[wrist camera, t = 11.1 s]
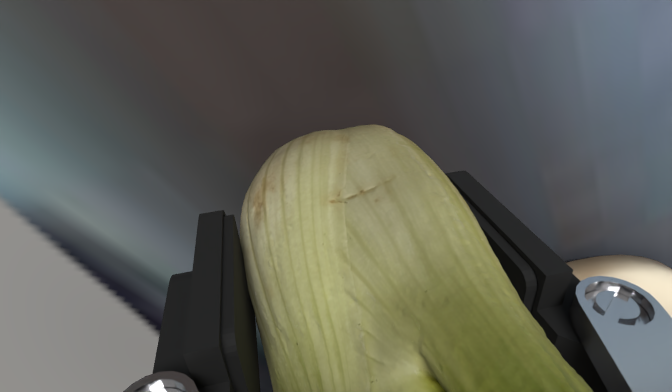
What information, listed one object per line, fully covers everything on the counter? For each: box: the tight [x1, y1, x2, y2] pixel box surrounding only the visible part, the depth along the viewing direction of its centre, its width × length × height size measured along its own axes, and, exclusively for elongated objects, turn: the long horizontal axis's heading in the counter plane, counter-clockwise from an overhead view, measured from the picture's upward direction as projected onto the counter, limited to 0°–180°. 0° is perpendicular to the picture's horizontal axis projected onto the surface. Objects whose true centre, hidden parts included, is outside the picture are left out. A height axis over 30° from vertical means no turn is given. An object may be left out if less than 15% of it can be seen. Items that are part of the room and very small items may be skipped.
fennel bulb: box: [240, 125, 593, 392], centre depth 8 cm, size 6×5×12 cm
